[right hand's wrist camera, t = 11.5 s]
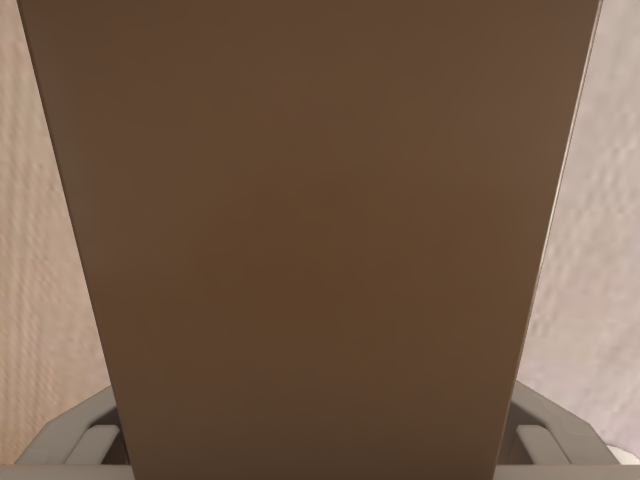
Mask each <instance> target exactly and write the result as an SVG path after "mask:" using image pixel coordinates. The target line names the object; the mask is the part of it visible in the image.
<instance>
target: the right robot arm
mask: <svg viewBox="0 0 640 480" xmlns="http://www.w3.org/2000/svg"><path fill="white" fill-rule="evenodd" d="M0 480H135V479H134V475H133V470H132V466H131V462H130V458H129V454H128V450H127V446H126V442H125V438H124V434H123V430H122V426H121V422H120V418H119V414H118V410H117V406H116V401H115V397H114V393H113V389H112V385H110V386H109V387H107V388H105V389H104V390H102V391H100V392H99V393H97V394H95V395H93V396H92V397H90V398H88V399H87V400H85V401H83V402H82V403H80V404H78V405H77V406H75V407H73V408H71V409H70V410H68V411H66V412H65V413H63V414H61V415H60V416H58V417H56V418H54V419H53V420H51V421H49V422H48V423H46V424H45V426H44V427H43V428H42V429H41V431H40V432H39V433H38V434H37V436H36V437H35V438H34V439H33V441H32V442H31V443H30V444H29V446H28V447H27V448H26V449H25V451H24V452H23V453H22V454H21V456H20V457H19V458H18V459H17V461H16V462H15V463H14V464H13V465H0ZM493 480H640V460H639V459H638V458H637V457H636V456H634V455H632V454H631V453H629V452H627V451H625V450H622V449H620V448H617V447H614V446H609V445H606V444H605V443H604V442H603V440H602V439H601V438H600V437H599V435H598V434H597V433H596V431H595V430H594V429H593V428H592V426H591V425H590V424H589V423H587V422H586V421H584V420H582V419H581V418H579V417H577V416H576V415H574V414H572V413H571V412H569V411H567V410H566V409H564V408H562V407H561V406H559V405H557V404H556V403H554V402H552V401H550V400H549V399H547V398H545V397H544V396H542V395H540V394H539V393H537V392H535V391H534V390H532V389H530V388H529V387H527V386H525V385H524V384H522V383H520V382H519V381H517V380H516V381H515V386H514V390H513V395H512V399H511V403H510V408H509V412H508V416H507V421H506V425H505V429H504V434H503V438H502V442H501V447H500V451H499V455H498V460H497V464H496V468H495V473H494V477H493Z"/></svg>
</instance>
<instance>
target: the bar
mask: <svg viewBox="0 0 640 480" xmlns="http://www.w3.org/2000/svg"><path fill="white" fill-rule="evenodd" d="M602 3H603V0H17V4H18V8H19V12H20V16H21V20H22V24H23V28H24V32H25V36H26V41H27V45H28V49H29V53H30V57H31V61H32V65H33V69H34V73H35V77H36V81H37V85H38V89H39V93H40V97H41V101H42V105H43V109H44V114H45V118H46V122H47V126H48V130H49V134H50V138H51V142H52V146H53V150H54V154H55V158H56V162H57V166H58V170H59V174H60V178H61V182H62V187H63V191H64V195H65V199H66V203H67V207H68V211H69V215H70V219H71V223H72V227H73V231H74V235H75V239H76V243H77V247H78V251H79V255H80V260H81V264H82V268H83V272H84V276H85V280H86V284H87V288H88V292H89V296H90V300H91V304H92V308H93V312H94V316H95V320H96V324H97V328H98V333H99V337H100V341H101V345H102V349H103V353H104V357H105V361H106V365H107V369H108V373H109V377H110V381H111V385H112V389H113V393H114V397H115V401H116V406H117V410H118V414H119V418H120V422H121V426H122V430H123V434H124V438H125V442H126V446H127V450H128V454H129V458H130V462H131V466H132V470H133V475H134V479H135V480H493V477H494V473H495V468H496V464H497V460H498V455H499V451H500V447H501V442H502V438H503V434H504V429H505V425H506V421H507V416H508V412H509V408H510V403H511V399H512V395H513V390H514V386H515V381H516V377H517V373H518V368H519V364H520V360H521V355H522V351H523V347H524V342H525V338H526V334H527V329H528V325H529V321H530V316H531V312H532V308H533V303H534V299H535V295H536V290H537V286H538V281H539V277H540V273H541V268H542V264H543V260H544V255H545V251H546V247H547V242H548V238H549V234H550V229H551V225H552V221H553V216H554V212H555V208H556V203H557V199H558V194H559V190H560V186H561V181H562V177H563V173H564V168H565V164H566V160H567V155H568V151H569V147H570V142H571V138H572V134H573V129H574V125H575V121H576V116H577V112H578V107H579V103H580V99H581V94H582V90H583V86H584V81H585V77H586V73H587V68H588V64H589V60H590V55H591V51H592V47H593V42H594V38H595V34H596V29H597V25H598V20H599V16H600V12H601V7H602Z"/></svg>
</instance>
